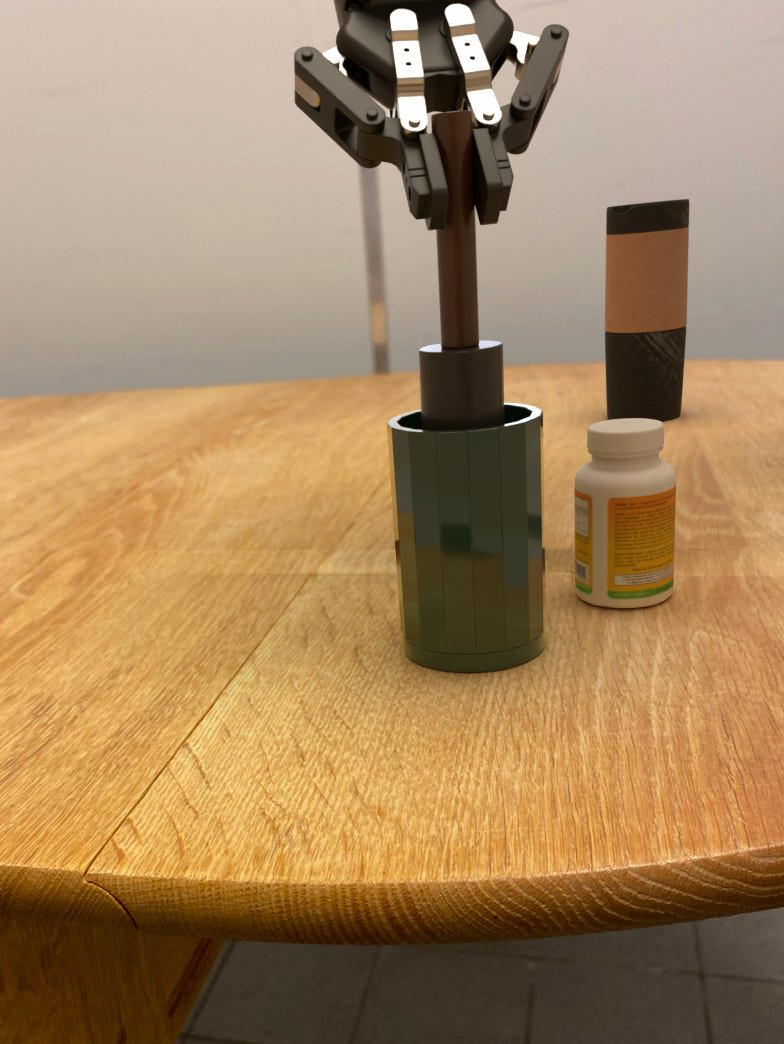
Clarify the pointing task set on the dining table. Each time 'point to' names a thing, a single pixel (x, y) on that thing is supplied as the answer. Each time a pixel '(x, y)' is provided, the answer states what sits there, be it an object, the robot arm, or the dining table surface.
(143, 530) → the dining table surface
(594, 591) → the supplement bottle
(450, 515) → the cup
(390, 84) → the robot arm
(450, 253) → the peg on round base
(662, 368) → the travel mug
